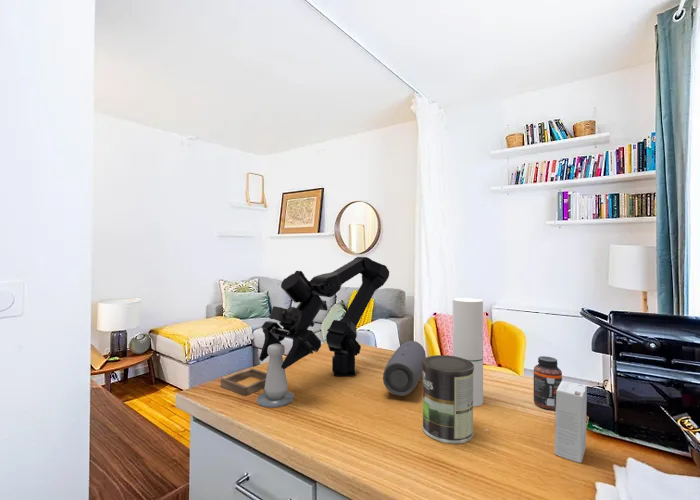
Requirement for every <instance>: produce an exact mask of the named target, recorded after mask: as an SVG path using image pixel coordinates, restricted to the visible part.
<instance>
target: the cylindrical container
mask: <svg viewBox="0 0 700 500" xmlns="http://www.w3.org/2000/svg"><path fill="white" fill-rule="evenodd" d="M452 356H455V357H460V358H463V359H466V360H468V361H470V362H472V363H473V364H474V370H473V407H479V406H481V405H483V404H484V300H483V299H480V298H474V297H455V298H452Z"/></svg>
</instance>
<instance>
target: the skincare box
mask: <svg viewBox="0 0 700 500" xmlns="http://www.w3.org/2000/svg"><path fill="white" fill-rule="evenodd" d="M587 391H588V387H587V385H585V384H579V383H576V382H569V381H566V380H565V381H564V380H562V381H561V383H560V385H559V387H558V389H557V390H556V410H555V421H554V422H555V423H554V426H555V427H554V428H555V429H554V454H555V455H556V456H559V457H560V458H563V459H567V460H569V461H572V462H575V463H580V464H581V463H582V462H583V459H584V456H585V455H584V454H585V452H586V448H587V442H586V441H587V405H588V403H587V400H588V399H587V398H588V392H587Z"/></svg>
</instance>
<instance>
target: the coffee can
mask: <svg viewBox="0 0 700 500" xmlns="http://www.w3.org/2000/svg"><path fill="white" fill-rule="evenodd" d="M422 364H423V371H422V430H423V432H424V433H425V435H426V436H428V437H429V438H431V439H433V440H435V441H437V442H439V443H444V444H449V445H451V444H452V445H459V444H465V443H467V442H469V441H471V440H472V439H473V438H474V406H473V370H474V364H473V363H472V362H470V361H468V360H466V359H463V358H460V357H455V356H453V355H446V354H439V355H437V354H436V355H430V356H426V358H424V359H423V361H422Z"/></svg>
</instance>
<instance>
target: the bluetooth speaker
mask: <svg viewBox="0 0 700 500" xmlns="http://www.w3.org/2000/svg"><path fill="white" fill-rule="evenodd" d="M426 355H427V354H426V351H425V348H424V346H423V345H422V344H421V343H420V342H418V341H416V340H407V341H405V342H403V343H402V344H401V345H400V346H399V347H398V348H397V349H396V350H395V352H394V353H393V354H391V357H390V358H389V360H388V362H387V364H386V366H385V368H384V369H383V375H382V382H383V385H384V386H385V388H386V390H387V391H388V392H389V393H390V394H392V395H395V396H399V397H402V396H403V397H404V396H407V395H409V394H411V393H412V392H413V391H414V389H415V388H416V386H417V385H418V382H419V381H420V379H421V376H422V375H423V364H422V361H423V359H424V358H426V357H427V356H426Z"/></svg>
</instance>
